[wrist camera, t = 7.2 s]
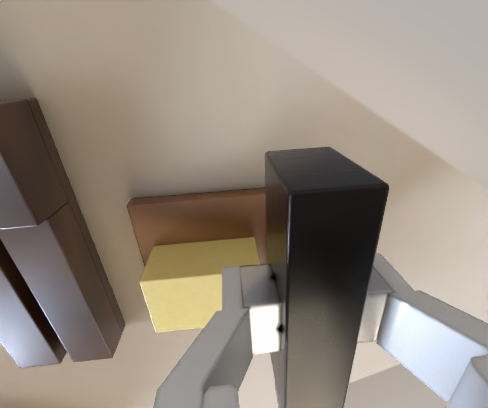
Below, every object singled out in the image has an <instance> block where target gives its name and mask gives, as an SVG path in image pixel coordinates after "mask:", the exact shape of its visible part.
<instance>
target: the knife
mask: <svg viewBox="0 0 488 408" xmlns="http://www.w3.org/2000/svg"><path fill="white" fill-rule="evenodd" d="M265 184H266V227H267V264H271V265H272V268H273V272H274V281H275V282H276V283H277V287H278V291H279V294H280V298H281V302H282V324H281V325H280V329H281V333H282V340H281V351H277V352H270V354H271V360H272V365H273V371H274V377H275V390H276V395H277V401H278V407H279V408H343V407H344V403H345V397H346V393H347V388H348V383H349V379H350V374H351V369H352V364H353V359H354V355H355V350H356V345H357V340H358V335H359V331H360V326H361V321H362V316H363V311H364V307H365V302H366V297H367V292H368V287H369V283H370V278H371V273H372V268H373V263H374V259H375V254H376V249H377V244H378V239H379V235H380V230H381V225H382V220H383V215H384V211H385V206H386V201H387V196H388V191H389V185H388V184H387V183H386V182H384V181H383V180H381V179H379V178H378V177H376V176H375V175H373V174H372V173H370V172H368V171H367V170H365V169H364V168H362V167H361V166H359V165H358V164H356V163H354V162H353V161H351V160H350V159H348V158H347V157H345V156H343V155H342V154H340V153H339V152H337V151H336V150H334V149H332V148H331V147H319V148H306V149H293V150H280V151H268V152H266V153H265Z"/></svg>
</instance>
